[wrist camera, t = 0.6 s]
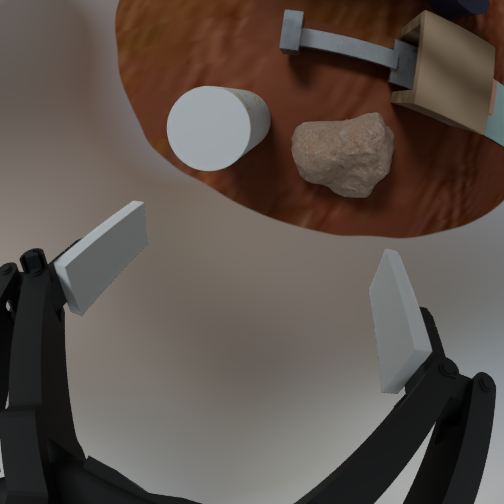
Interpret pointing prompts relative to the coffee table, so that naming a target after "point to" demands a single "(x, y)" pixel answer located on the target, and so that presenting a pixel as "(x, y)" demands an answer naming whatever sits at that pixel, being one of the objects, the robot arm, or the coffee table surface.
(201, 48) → the coffee table surface
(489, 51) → the tunnel
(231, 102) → the cup
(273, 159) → the coffee table surface
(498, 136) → the pad
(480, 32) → the coffee table surface
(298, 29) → the grey square dumbbell
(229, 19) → the coffee table surface
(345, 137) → the stone
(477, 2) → the speaker
